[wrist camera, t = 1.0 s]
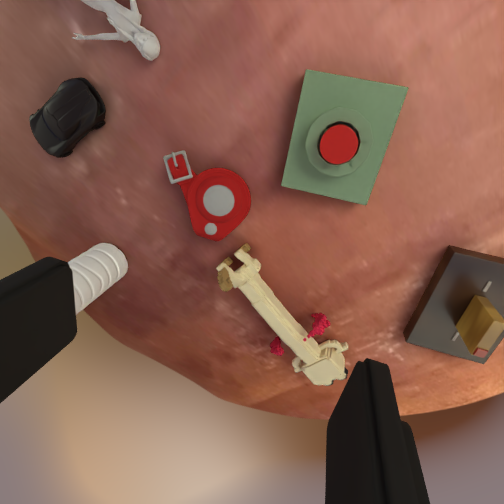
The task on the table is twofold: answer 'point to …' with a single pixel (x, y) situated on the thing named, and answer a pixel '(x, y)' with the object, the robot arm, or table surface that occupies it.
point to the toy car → (68, 117)
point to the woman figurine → (125, 27)
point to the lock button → (338, 144)
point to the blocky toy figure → (286, 323)
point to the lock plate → (456, 301)
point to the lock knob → (480, 326)
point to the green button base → (346, 113)
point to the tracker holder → (210, 196)
